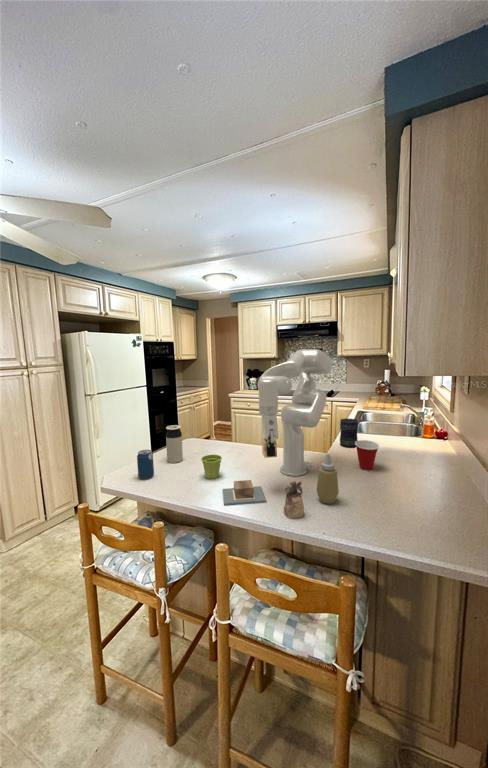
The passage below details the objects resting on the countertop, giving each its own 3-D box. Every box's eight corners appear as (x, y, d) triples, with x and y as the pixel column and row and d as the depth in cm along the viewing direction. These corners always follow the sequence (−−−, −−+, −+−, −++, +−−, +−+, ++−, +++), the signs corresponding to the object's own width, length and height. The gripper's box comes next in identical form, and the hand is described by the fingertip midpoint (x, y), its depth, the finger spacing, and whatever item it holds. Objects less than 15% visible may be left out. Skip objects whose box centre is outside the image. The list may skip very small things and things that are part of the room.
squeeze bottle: (322, 493, 123) (322, 449, 120) (341, 499, 117) (342, 453, 115) (312, 501, 116) (313, 455, 114) (333, 508, 111) (333, 460, 109)
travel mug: (175, 464, 156) (173, 429, 154) (163, 461, 160) (162, 427, 158) (186, 459, 163) (184, 426, 160) (174, 456, 167) (173, 424, 165)
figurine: (286, 506, 113) (286, 475, 111) (305, 510, 110) (306, 478, 109) (281, 516, 106) (281, 483, 105) (301, 520, 104) (302, 486, 102)
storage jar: (345, 441, 187) (346, 417, 185) (360, 445, 180) (361, 420, 178) (336, 445, 181) (336, 420, 179) (351, 449, 173) (352, 423, 172)
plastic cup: (359, 472, 141) (360, 447, 140) (350, 464, 152) (351, 440, 151) (383, 472, 142) (383, 446, 140) (372, 463, 152) (373, 439, 151)
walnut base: (251, 489, 125) (251, 479, 125) (253, 497, 118) (253, 487, 118) (233, 490, 124) (233, 481, 124) (235, 499, 117) (235, 489, 117)
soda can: (157, 475, 142) (155, 450, 141) (145, 481, 136) (143, 455, 135) (147, 472, 146) (145, 448, 145) (135, 478, 140) (133, 452, 139)
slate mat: (261, 488, 128) (261, 485, 128) (266, 502, 116) (266, 500, 116) (222, 490, 126) (222, 488, 126) (224, 505, 114) (224, 503, 114)
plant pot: (219, 481, 135) (218, 462, 134) (198, 480, 137) (198, 461, 136) (224, 472, 144) (224, 455, 143) (205, 471, 146) (205, 453, 145)
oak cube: (274, 452, 128) (274, 438, 127) (276, 456, 123) (276, 442, 122) (262, 453, 127) (262, 439, 127) (264, 457, 123) (264, 443, 122)
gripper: (282, 414, 115) (283, 460, 117) (273, 404, 131) (274, 445, 134) (263, 415, 114) (264, 462, 116) (255, 405, 131) (257, 447, 133)
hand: (269, 453), depth 125 cm, fingers closed on oak cube, 5 cm apart
